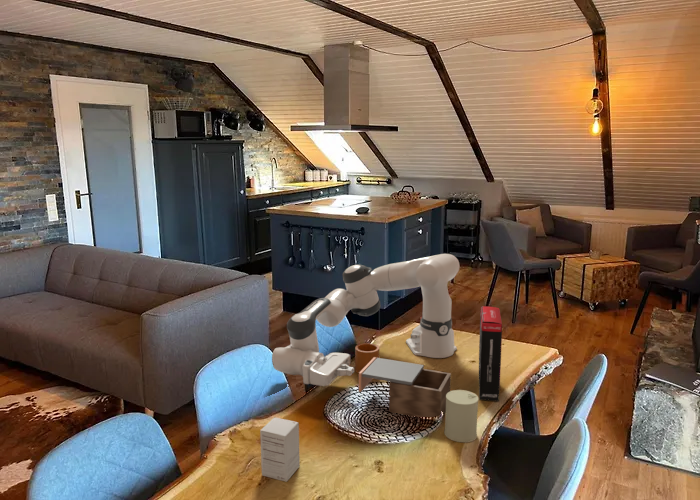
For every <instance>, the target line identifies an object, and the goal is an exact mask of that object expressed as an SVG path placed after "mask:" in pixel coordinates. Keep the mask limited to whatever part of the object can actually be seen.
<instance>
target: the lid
mask: <svg viewBox="0 0 700 500" xmlns="http://www.w3.org/2000/svg"><path fill="white" fill-rule="evenodd" d="M424 366H425V365H423V364H419V363H414V362H413V363H412V362H407V361H402V360H401V361H400V360H395V359H394V360H393V359H387V358H380V357H379V358H377V359H376V357H374V358H373V359H372V360H371V361H370V362H369V363H368V364H367V365H366V366H365V367H364V368H363V369H362V370H361V371H360V372H359V374H358V393H362V391H364V389H366V387H367V386H368V385H369V384H370V382H371V381H373V380H380V381H385V382H388V381H390V382H395V383H401V384H407V385H412V384H413V383H414V381H415V380H416V378H417V377H418V375H419V374H420V373H421V371H422V370H423V369H425V368H424Z"/></svg>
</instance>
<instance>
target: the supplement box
mask: <svg viewBox="0 0 700 500" xmlns="http://www.w3.org/2000/svg"><path fill="white" fill-rule="evenodd" d="M299 425H300V424H299V422H297V421H294V420H289V419H286V418H284V419H283V418H280V417H272V418H271V420H270V421H268V423H266V424H265V425H264V426H263V427H262V428H261V429H260V431H259V432H260V433H259V434H260V438H259V439H260V458H261V459H260V460H261V475H262V476H264V477H267V478H270V479H275V480H278V481H282V482H288V481H289V480H290V478H291V477H293V475H294V473H295V472H296V471H297V470H298V469H299V468H300V467H301V466H300V465H301V464H300V463H301V461H300V457H301V456H300V426H299Z"/></svg>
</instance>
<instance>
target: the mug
mask: <svg viewBox="0 0 700 500" xmlns="http://www.w3.org/2000/svg"><path fill="white" fill-rule="evenodd" d="M354 354H355V355H354V359H355V360H354V366H355V367H354V372H355V373H357V374H358V373H359V372H360V371H361V370H362V369H363V368H364V367H365V366H366V365H367V364H368V363H369V362H370V361H371V360H372V359H373V358H374V357H376V359H377V358H380V347H379V345H377V344H375V343H368V342H366V343H365V342H363V343H359V344H357V345H355V348H354Z"/></svg>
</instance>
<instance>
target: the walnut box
mask: <svg viewBox="0 0 700 500" xmlns="http://www.w3.org/2000/svg"><path fill="white" fill-rule="evenodd" d="M451 381H452V372H445V371H438V370H432V369H427V368H426V369H425V368H423V370H422V371H421V373H420V374H419V375H418V377H417V378H416V380H415V381H414V383H413V384H412V385H407V384H401V383H395V382H390V383H389V390H388V391H389V393H388V394H389V395H388V396H389V398H388V399H389V401H388V412H389V411H390V412H393V413H392V414H394V413H398V414H397V415H399V414H403V415H402V416H404V415H409V416H417V417H435V416H438V415H440V414H441V411H442V412H443V414H444V415H445V414H446V394H447V393H448V392H450V391H451V385H452V384H451V383H452V382H451ZM409 416H408V417H409Z"/></svg>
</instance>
